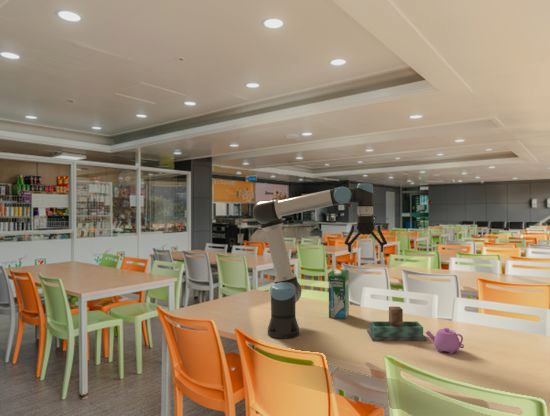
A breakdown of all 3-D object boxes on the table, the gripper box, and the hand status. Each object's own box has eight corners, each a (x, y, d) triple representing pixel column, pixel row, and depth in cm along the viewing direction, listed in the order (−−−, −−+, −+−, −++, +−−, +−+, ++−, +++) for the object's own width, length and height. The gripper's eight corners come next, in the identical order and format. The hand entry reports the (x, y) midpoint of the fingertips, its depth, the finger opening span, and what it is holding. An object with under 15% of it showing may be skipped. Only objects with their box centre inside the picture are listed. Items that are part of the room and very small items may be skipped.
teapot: (462, 357, 162) (461, 334, 162) (422, 350, 171) (422, 328, 170) (465, 349, 171) (465, 327, 171) (428, 343, 179) (428, 322, 179)
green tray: (372, 340, 183) (372, 328, 183) (367, 332, 195) (367, 320, 195) (426, 340, 182) (426, 328, 182) (418, 332, 194) (418, 320, 194)
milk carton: (328, 317, 221) (328, 271, 221) (332, 313, 229) (332, 268, 229) (345, 319, 217) (345, 272, 217) (348, 314, 226) (348, 269, 226)
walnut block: (391, 335, 186) (391, 309, 186) (388, 332, 191) (388, 306, 191) (402, 335, 186) (402, 309, 186) (399, 332, 191) (399, 306, 191)
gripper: (340, 215, 195) (340, 260, 195) (393, 215, 194) (393, 260, 194) (338, 215, 202) (338, 257, 203) (389, 215, 201) (389, 257, 202)
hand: (365, 259), depth 198 cm, fingers open, 13 cm apart
